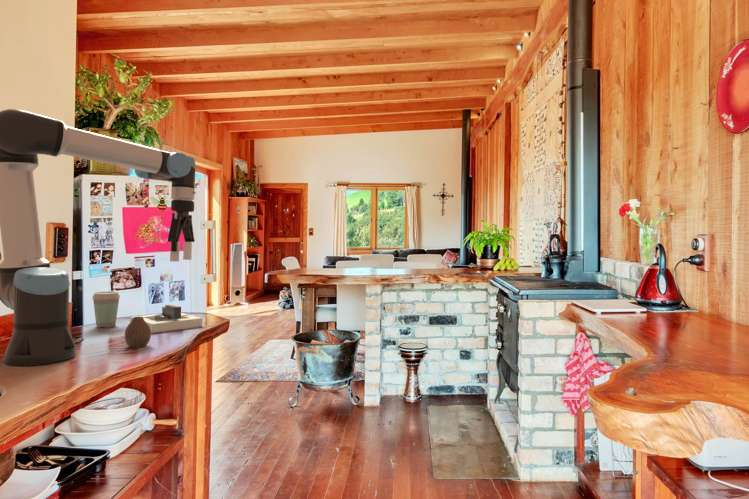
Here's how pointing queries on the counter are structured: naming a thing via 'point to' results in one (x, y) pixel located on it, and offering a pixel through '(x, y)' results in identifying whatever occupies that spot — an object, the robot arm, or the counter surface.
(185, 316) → the dial board
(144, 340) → the vase
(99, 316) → the coffee cup
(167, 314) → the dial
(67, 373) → the counter surface
